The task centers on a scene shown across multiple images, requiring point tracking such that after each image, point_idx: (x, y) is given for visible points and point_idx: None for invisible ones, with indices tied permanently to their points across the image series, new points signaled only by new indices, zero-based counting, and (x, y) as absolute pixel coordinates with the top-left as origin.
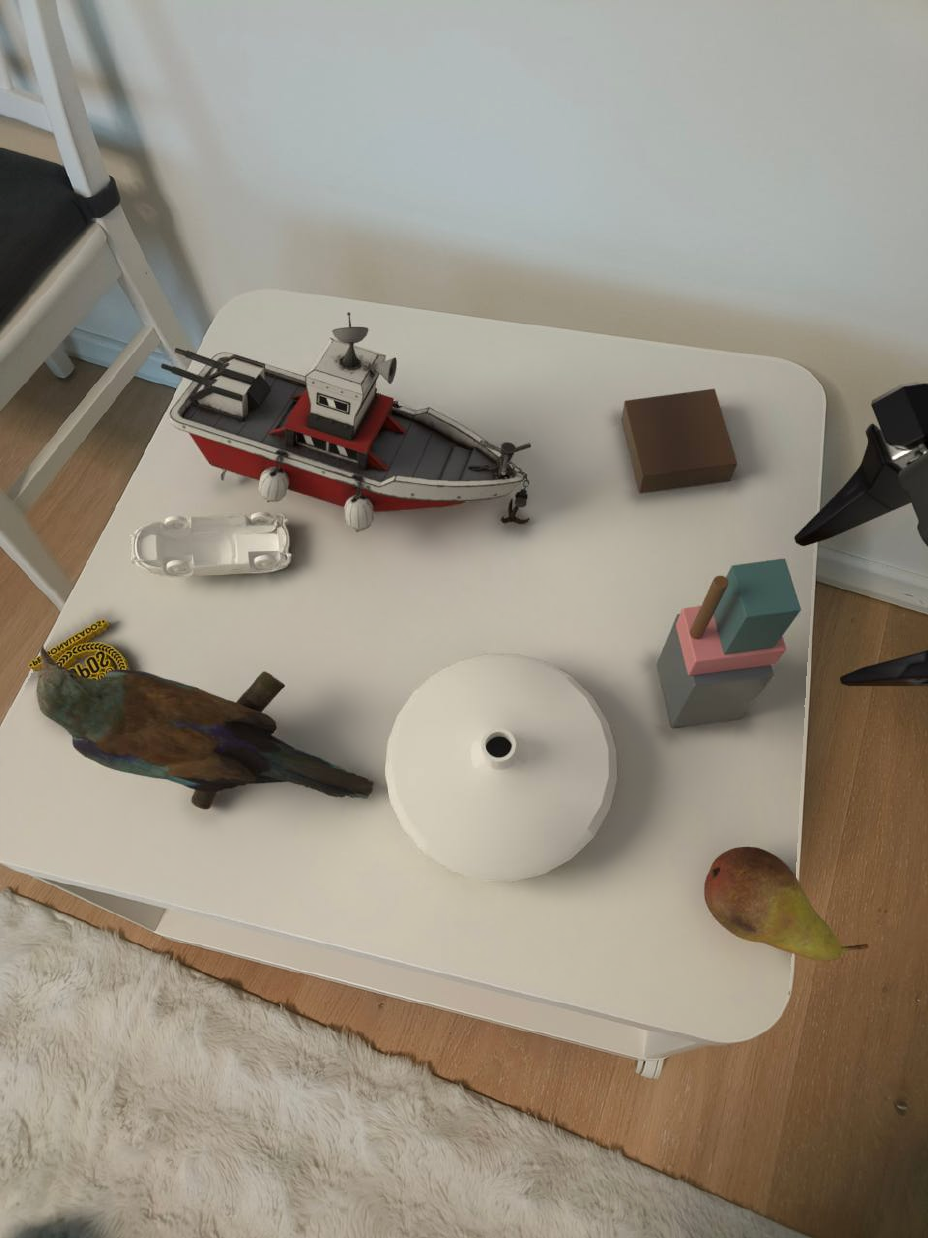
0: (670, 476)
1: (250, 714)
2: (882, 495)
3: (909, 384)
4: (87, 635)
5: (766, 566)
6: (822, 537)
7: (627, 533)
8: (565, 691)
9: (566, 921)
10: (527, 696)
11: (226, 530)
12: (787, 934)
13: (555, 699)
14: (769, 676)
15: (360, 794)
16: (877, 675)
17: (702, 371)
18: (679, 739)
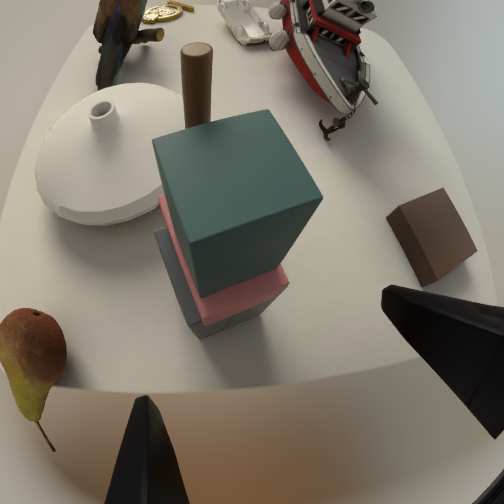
0: (407, 230)
1: (132, 25)
2: (497, 373)
3: None
4: (185, 6)
5: (288, 162)
6: (402, 325)
7: (350, 213)
8: None
9: (29, 227)
10: (158, 134)
11: (254, 23)
12: (5, 371)
13: None
14: (186, 320)
15: None
16: (126, 450)
17: (479, 249)
18: (166, 287)
